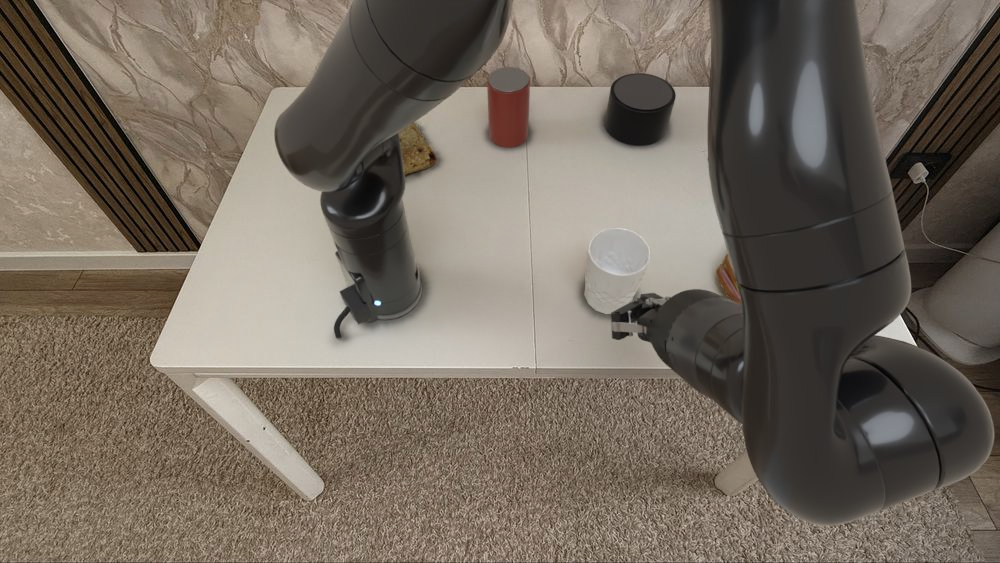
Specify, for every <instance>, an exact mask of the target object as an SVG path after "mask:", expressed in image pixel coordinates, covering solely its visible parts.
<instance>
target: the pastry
mask: <svg viewBox="0 0 1000 563" xmlns="http://www.w3.org/2000/svg"><path fill="white" fill-rule="evenodd" d="M399 138H400V144H401V152H402V159H403V167H404V174H405V176H406V175H408V174H413V173H414V172H415V173H417V172H420V171H423V170H425V169H429V168H431V167H432V166H433V165H435V162H436V160H437V156H436V153H435V152H434V150H433V149H432V148H431V146H430V145H429V144H428V143H427V141H426V139H425V138H424V136H423V135H422V134H421V132H420V130H419V129H418V128H417V126H416V124H415V122H414V123H412V124H411V125H409V126H408V127H406V128H405V129H403V130H402V131H400V132H399Z"/></svg>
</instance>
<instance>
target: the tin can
mask: <svg viewBox="0 0 1000 563" xmlns="http://www.w3.org/2000/svg"><path fill="white" fill-rule="evenodd" d="M486 87H487V88H486V89H487V111H488V112H487V114H488V115H487V117H488V138H489V139H490V141H491V142H492V143H493V144H494V145H496V146H499V147H502V148H516V147H519V146H521V145H523V144H524V143H525V142H526V141H527V140H528V138H529V126H530V125H529V121H530V120H529V118H530V98H531V95H530V94H531V77H530V75H528V73H527V72H526V71H525V70H524V69H521V68H518V67H513V66H504V67H499V68H496V69H494V70H493V71H491V73H490V74H489V75H488V77H487V79H486Z"/></svg>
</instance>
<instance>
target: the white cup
mask: <svg viewBox="0 0 1000 563" xmlns="http://www.w3.org/2000/svg"><path fill="white" fill-rule="evenodd" d="M651 252H652V250H651V248H650V245H649V244H648V242H647V240H646V239H645V238H644V237H643V236H642V235H640V234H639V233H637V232H636V231H633V230H631V229H628V228H626V227H625V228H624V227H607V228H604V229H602V230H600V231H598V232H597V233H595V234H594V235H593V236H592V237H591V238H590V240H589V243H588V246H587V254H586V255H587V256H586V263H585V274H584V295H583V296H584V298H585V300H586V302H587V304H588V305H589V306H590V307H591V308H592V309H594V311H596V312H598V313H601V314H605V315H611V312H613V311H615V310H617V309H619V308H621V307H623V306H625V305H626V304H628V303H630V302H633V301H634V300H633V299H634V297H635V295H636V294H637V292H638V290H639V287H640V285H641V283H642V281H643V278H644V275H645V273H646V271H647V268H648V266H649V264H650V261H651V257H652V253H651Z"/></svg>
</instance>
